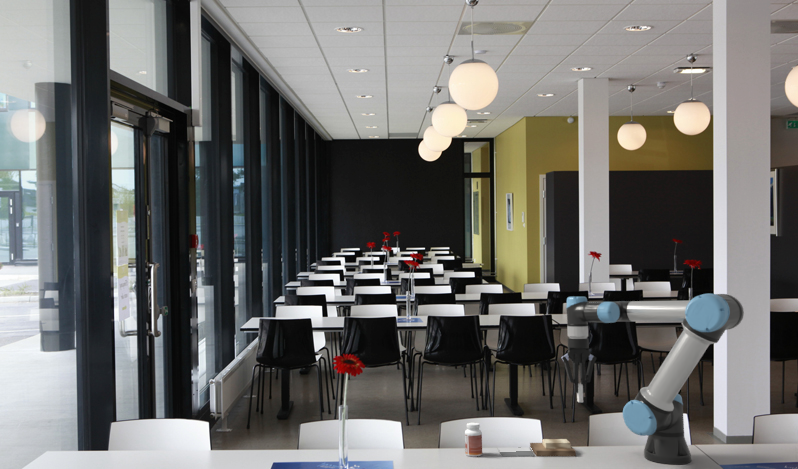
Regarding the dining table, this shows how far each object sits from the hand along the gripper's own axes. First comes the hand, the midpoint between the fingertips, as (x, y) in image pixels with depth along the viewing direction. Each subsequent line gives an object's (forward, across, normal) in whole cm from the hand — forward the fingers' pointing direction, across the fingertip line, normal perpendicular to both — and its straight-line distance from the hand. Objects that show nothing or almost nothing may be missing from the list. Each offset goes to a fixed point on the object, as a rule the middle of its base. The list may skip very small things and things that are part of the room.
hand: (580, 401), depth 226 cm
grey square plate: (+18, +24, 0) cm, 30 cm away
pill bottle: (+18, +40, +4) cm, 44 cm away
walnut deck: (+18, +11, 0) cm, 21 cm away
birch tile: (+16, +9, 0) cm, 19 cm away
